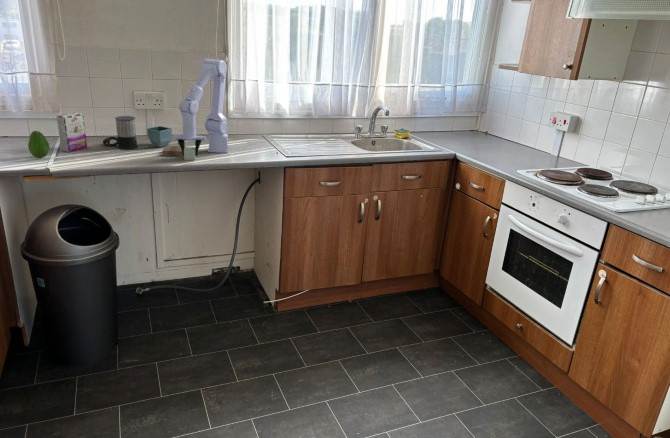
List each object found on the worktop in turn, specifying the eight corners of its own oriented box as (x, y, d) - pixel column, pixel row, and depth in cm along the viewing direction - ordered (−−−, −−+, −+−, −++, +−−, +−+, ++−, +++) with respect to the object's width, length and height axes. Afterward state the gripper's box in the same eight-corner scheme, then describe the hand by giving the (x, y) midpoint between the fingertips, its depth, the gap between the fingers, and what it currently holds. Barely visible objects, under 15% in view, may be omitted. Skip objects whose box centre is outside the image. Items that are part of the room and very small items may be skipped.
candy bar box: (79, 146, 243) (75, 112, 237) (87, 147, 242) (83, 113, 236) (60, 151, 233) (55, 115, 227) (69, 152, 232) (64, 117, 226)
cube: (196, 157, 240) (196, 146, 238) (195, 160, 236) (195, 149, 234) (185, 156, 239) (185, 146, 237) (184, 159, 235) (183, 149, 233)
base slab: (187, 151, 249) (186, 146, 248) (184, 156, 240) (184, 151, 239) (165, 150, 247) (165, 145, 246) (162, 155, 238) (162, 150, 237)
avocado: (27, 160, 217) (23, 132, 212) (32, 155, 224) (28, 128, 219) (48, 160, 219) (44, 132, 215) (52, 155, 226) (49, 128, 222)
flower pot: (147, 146, 253) (146, 128, 250) (160, 143, 260) (159, 125, 257) (160, 149, 249) (159, 131, 246) (173, 146, 257) (172, 128, 253)
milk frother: (138, 150, 245) (135, 119, 239) (102, 150, 239) (99, 119, 234) (137, 143, 257) (135, 113, 252) (103, 143, 251) (100, 113, 246)
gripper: (171, 127, 227) (173, 157, 232) (204, 129, 230) (205, 158, 234) (173, 124, 234) (175, 153, 239) (206, 126, 236) (206, 154, 241)
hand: (190, 155), depth 237 cm, fingers closed on cube, 5 cm apart
